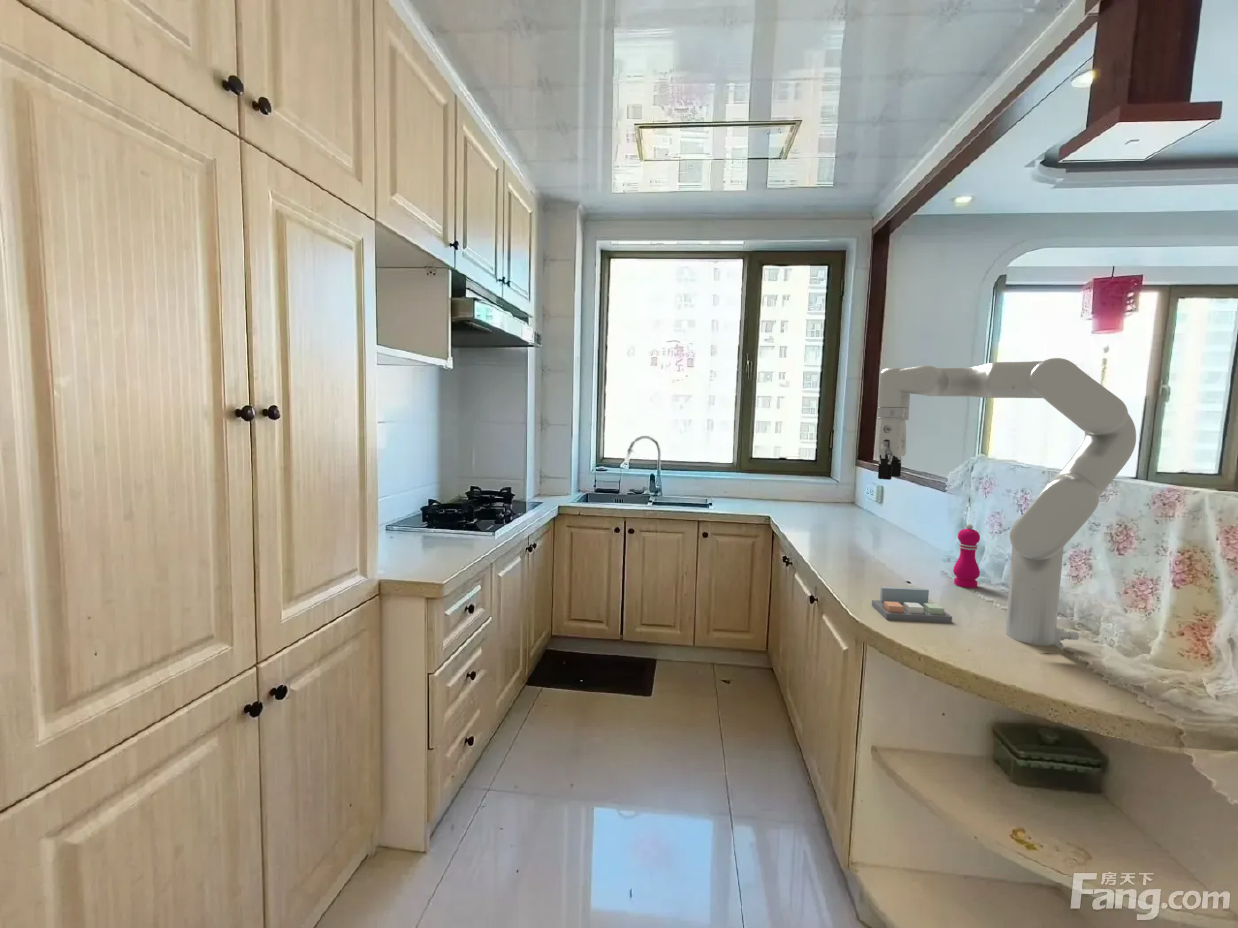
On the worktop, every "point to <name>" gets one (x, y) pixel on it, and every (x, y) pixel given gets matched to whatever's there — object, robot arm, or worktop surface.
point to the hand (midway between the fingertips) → (889, 477)
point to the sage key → (933, 608)
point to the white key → (913, 607)
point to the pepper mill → (967, 558)
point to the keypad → (912, 597)
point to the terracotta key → (893, 607)
